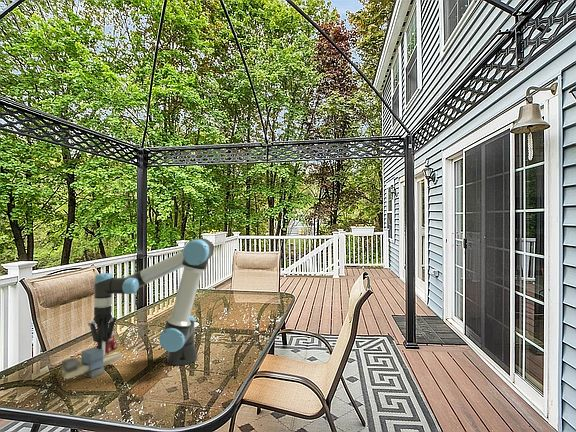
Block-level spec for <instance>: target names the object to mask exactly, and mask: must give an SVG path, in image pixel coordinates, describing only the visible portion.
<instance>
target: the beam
mask: <svg viewBox="0 0 576 432" xmlns="http://www.w3.org/2000/svg"><path fill="white" fill-rule="evenodd" d="M77 360H78V359H76V358H75V359H74V358H72V357H70V358H67V359H63V360H61V371H62V372H61V373H62V374H61V376H62V377H61V378H63V379H65V380H68V379H71V378H75V377H77V376H80V375H83V376H86V377H87V378H89V379H93V378H96V377H99V376H102V375H105V366H108V365H111V364H113V363H116V362H119V361H121V360H123V352H122V353H121V352H119V351H116V352H114V353H110V354H107V355H104V356H103V366H102V367H99V368H96V369H94V370H91V371H90V370H89V365H88V364H86V363H82V364H80V365H77Z"/></svg>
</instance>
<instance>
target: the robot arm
mask: <svg viewBox="0 0 576 432" xmlns="http://www.w3.org/2000/svg"><path fill="white" fill-rule="evenodd" d="M214 251H215V249H214V246H213V243H212V242H211V241H210V240H208V239H207V238H196V239H191V240H190V241H189V242H187V243H186V245H185V246H184V248H183V250H182V251H181V252H178V253H175V254H174V255H172V256H170V257H167V258H165V259H163V260H161V261H159V262H157V263H155V264H152V265H150V266H148V267H146V268H144V269H141V270H139V271H137V272H136V273H133V274H131V275H128V276H125V277H113V274H112V273H108V272H107V273H105V272H103V273H98V274H96V275H95V276H94V284H93V285H94V301H93V302H94V303H93V304H94V308H93V309H94V310H93V315H94V316H93V320H92V321H91V322H89V323H88V327H89V328H90V332H91V335H92V340H93V342H95V343H97V346H98V349H101V350H103V357H104V356H106V352H105V348H106V347H107V341H108V339H110V338H111V336H112V331H113V330H114V327H115V323H116V322H117V317H113V315H112V311H113V310H112V308H113V305H112V304H113V295H114V294H115V295H116V294H117V295H123V294H125V295H130V294H131V295H132V294H133V295H134V294H136V293H137V291H138V290H139V288H142V287H143V286H146V285H147V284H150V283H152V282H154V281H157V280H158V279H160V278H163V277H164V276H166V275H169V274H171V273H173V272H175V271H178V270H179V269H181V268H183V271H182V275H181V278H180V283H179V285H178V290H177V293H176V297H175V301H174V305H173V308H172V310H171V315H170V316H169V317H167V318H166V321H165V325H164V329H163V330H162V331H161V332H160V334H159V340H158V341H159V344H160V346H161V347H162V349H163V350H165V351H166V352H168V354H167V356H166V358H167V359H166V361H167V363H168V365H172V366H185V365H190V364H193V363H195V362H196V361H197V360H198V352H197V349H196V345H195V323H196V322H195V316H194V315H193V314H192V313H191V312H192V309H193V307H194V304H195V303H194V302H195V298H196V295H197V291H198V287H199V284H200V280H201V276H202V273H203V272H204V271H205V270H206V269H207V266H208V262H209V259H211V258H212V256H213V255H214ZM191 314H192V315H191ZM102 340H103V341H102ZM192 362H193V363H192Z"/></svg>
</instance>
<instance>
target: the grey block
mask: <svg viewBox="0 0 576 432" xmlns="http://www.w3.org/2000/svg"><path fill="white" fill-rule="evenodd" d="M103 357H104V356H103V350H101V349H98V348H96V347H95V346H94V347H91V348H87V349H85V350H81V358H82V363H86V364H88V365H89V370H90V371H91V370H94V369H96V368H99V367H102V366H103ZM103 367H104V366H103Z"/></svg>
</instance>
